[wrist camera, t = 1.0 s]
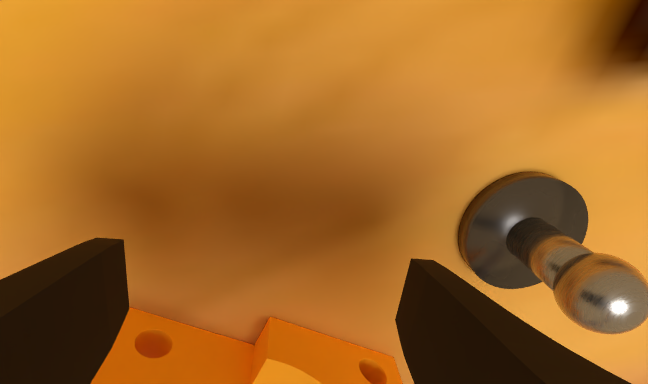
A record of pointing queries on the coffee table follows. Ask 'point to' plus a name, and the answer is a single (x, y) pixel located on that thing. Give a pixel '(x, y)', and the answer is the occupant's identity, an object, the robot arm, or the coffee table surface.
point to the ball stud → (550, 252)
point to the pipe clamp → (237, 356)
